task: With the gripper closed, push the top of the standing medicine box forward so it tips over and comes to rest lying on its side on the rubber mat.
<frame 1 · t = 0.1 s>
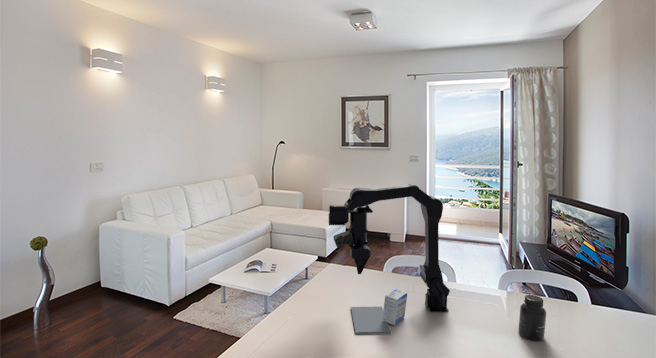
hand: (357, 268, 120), 15 cm above the table, tool pointing down, fingers open, 9 cm apart
medicine box: (393, 319, 114), on the table, touching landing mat
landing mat: (369, 320, 114), on the table
supplement bottle: (531, 336, 105), on the table
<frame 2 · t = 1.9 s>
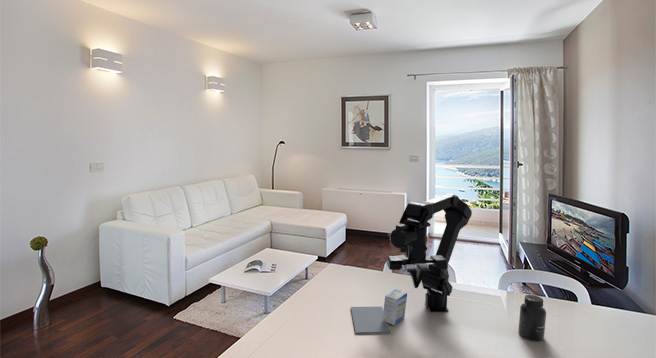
hand: (415, 287, 113), 11 cm above the table, tool pointing down, fingers closed
nothing on the table moved.
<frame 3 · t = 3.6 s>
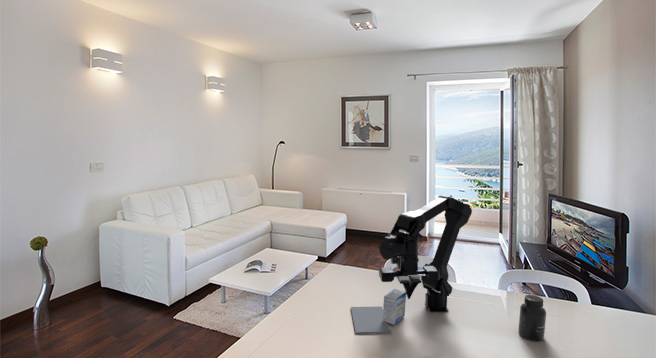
hand: (408, 298, 114), 7 cm above the table, tool pointing down, fingers closed
medicine box: (393, 319, 114), on the table, touching gripper, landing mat
everything else where it was.
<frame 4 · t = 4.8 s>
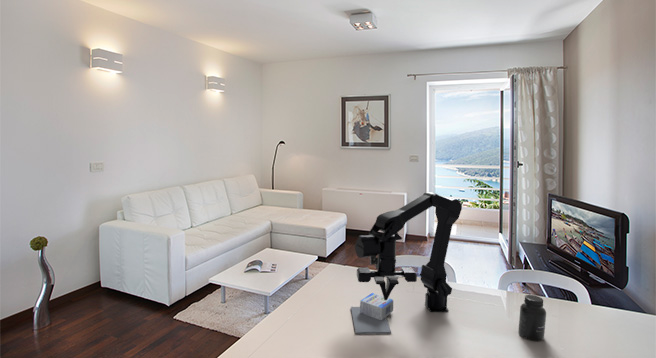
hand: (385, 299, 113), 7 cm above the table, tool pointing down, fingers closed
medicine box: (388, 310, 115), point 3 cm above the table, touching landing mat
everything else where it was.
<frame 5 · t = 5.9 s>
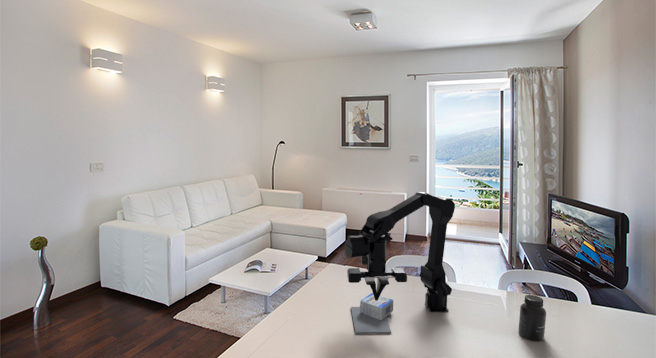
hand: (376, 299, 113), 7 cm above the table, tool pointing down, fingers closed
nothing on the table moved.
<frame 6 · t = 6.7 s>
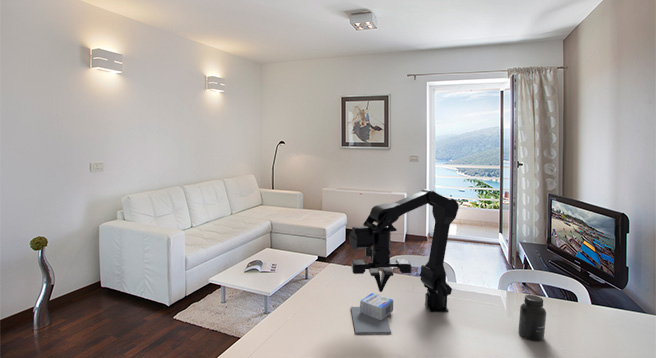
hand: (380, 291, 113), 10 cm above the table, tool pointing down, fingers closed
nothing on the table moved.
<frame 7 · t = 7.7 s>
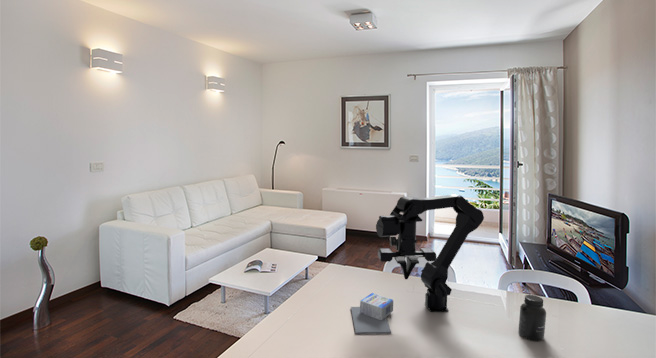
hand: (405, 278, 118), 12 cm above the table, tool pointing down, fingers closed
nothing on the table moved.
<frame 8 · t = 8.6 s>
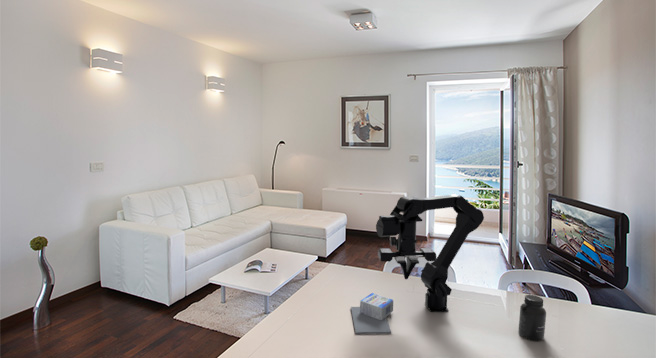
hand: (405, 278, 118), 12 cm above the table, tool pointing down, fingers closed
nothing on the table moved.
at the end: medicine box tilted 89°; medicine box inside the target area (3.1 cm from its centre), point 2.7 cm above the table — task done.
